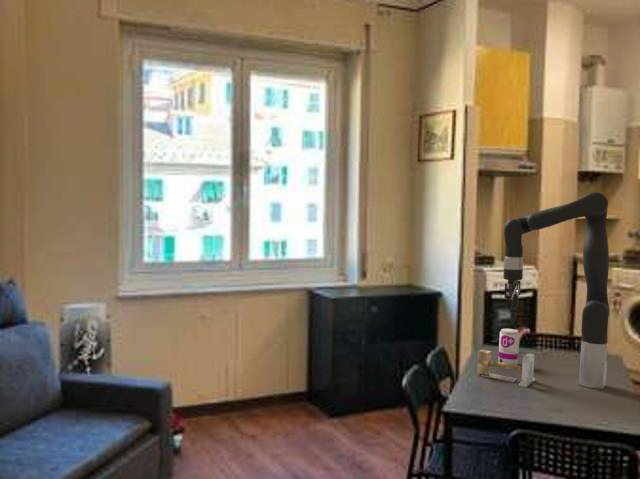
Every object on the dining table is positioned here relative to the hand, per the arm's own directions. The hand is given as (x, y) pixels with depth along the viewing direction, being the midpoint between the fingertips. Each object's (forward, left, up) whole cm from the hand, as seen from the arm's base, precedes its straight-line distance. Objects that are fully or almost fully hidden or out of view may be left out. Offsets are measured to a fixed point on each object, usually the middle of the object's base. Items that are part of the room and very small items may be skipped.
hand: (512, 307), depth 262 cm
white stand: (-2, +10, -27) cm, 29 cm away
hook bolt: (+1, +10, -27) cm, 28 cm away
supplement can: (+5, -14, -28) cm, 31 cm away
